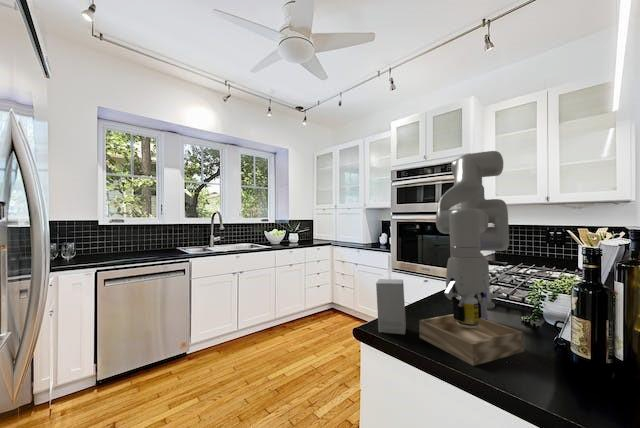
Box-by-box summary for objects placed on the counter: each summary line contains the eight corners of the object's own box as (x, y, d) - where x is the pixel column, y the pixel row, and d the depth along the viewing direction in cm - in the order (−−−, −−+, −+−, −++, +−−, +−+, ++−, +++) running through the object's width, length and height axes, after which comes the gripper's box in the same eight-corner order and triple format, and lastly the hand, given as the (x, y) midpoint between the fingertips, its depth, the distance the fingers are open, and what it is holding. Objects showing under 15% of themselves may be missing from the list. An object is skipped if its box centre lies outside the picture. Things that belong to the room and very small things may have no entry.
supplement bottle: (478, 330, 74) (477, 292, 74) (455, 326, 76) (454, 290, 77) (479, 323, 78) (478, 288, 79) (457, 320, 81) (456, 286, 81)
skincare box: (406, 327, 90) (404, 279, 90) (405, 335, 84) (403, 283, 84) (379, 325, 93) (378, 278, 93) (377, 332, 86) (375, 282, 87)
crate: (464, 328, 89) (464, 312, 89) (523, 351, 72) (522, 332, 72) (419, 337, 82) (419, 320, 82) (473, 365, 66) (472, 344, 66)
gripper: (475, 250, 85) (477, 310, 84) (431, 253, 78) (433, 318, 78) (499, 252, 78) (501, 318, 77) (452, 256, 71) (455, 327, 71)
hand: (467, 317), depth 77 cm, fingers closed on supplement bottle, 5 cm apart
